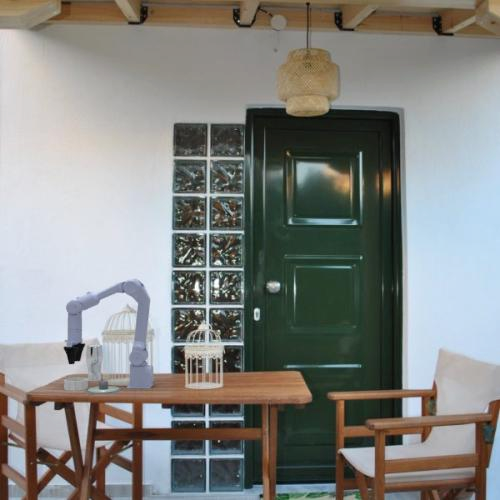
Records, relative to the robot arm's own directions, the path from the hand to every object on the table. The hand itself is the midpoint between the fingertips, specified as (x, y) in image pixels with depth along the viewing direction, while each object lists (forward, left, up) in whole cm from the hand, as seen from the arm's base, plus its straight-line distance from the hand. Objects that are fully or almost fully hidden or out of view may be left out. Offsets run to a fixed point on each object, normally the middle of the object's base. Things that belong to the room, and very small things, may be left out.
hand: (74, 362), depth 265 cm
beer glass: (-4, -14, -10) cm, 18 cm away
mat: (-14, +8, -10) cm, 19 cm away
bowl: (-2, +5, -10) cm, 11 cm away
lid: (-14, +8, -10) cm, 19 cm away
